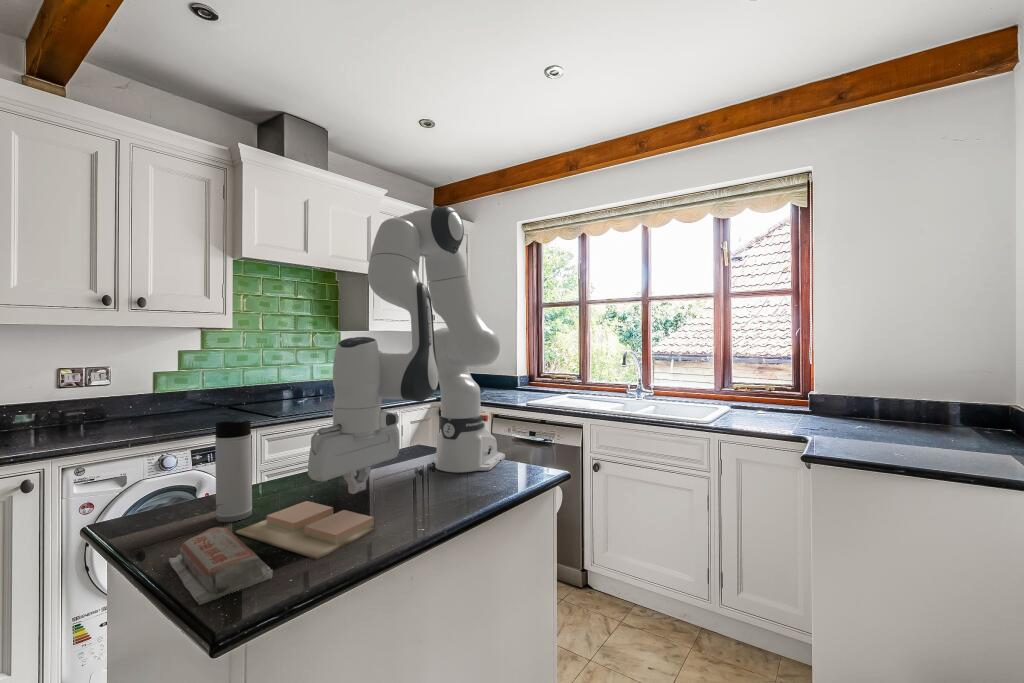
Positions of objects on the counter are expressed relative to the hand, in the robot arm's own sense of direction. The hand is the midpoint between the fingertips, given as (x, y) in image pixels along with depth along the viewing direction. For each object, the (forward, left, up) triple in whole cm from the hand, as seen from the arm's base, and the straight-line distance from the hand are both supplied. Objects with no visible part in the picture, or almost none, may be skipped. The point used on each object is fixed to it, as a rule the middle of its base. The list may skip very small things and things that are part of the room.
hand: (357, 491), depth 91 cm
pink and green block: (0, 0, -5) cm, 5 cm away
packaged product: (+23, -6, -7) cm, 25 cm away
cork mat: (+7, -6, -6) cm, 11 cm away
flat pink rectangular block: (0, -11, -5) cm, 12 cm away
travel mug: (+9, -25, -7) cm, 27 cm away
